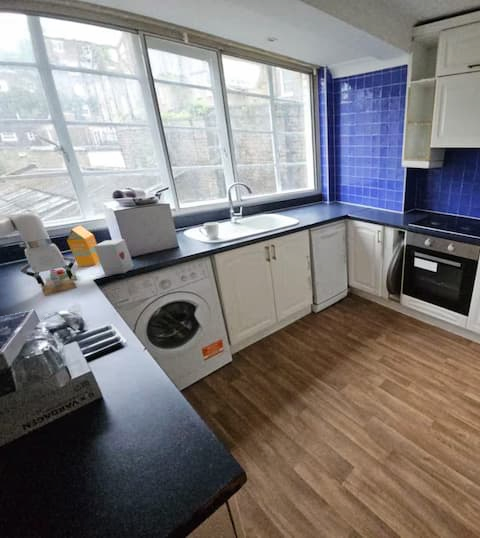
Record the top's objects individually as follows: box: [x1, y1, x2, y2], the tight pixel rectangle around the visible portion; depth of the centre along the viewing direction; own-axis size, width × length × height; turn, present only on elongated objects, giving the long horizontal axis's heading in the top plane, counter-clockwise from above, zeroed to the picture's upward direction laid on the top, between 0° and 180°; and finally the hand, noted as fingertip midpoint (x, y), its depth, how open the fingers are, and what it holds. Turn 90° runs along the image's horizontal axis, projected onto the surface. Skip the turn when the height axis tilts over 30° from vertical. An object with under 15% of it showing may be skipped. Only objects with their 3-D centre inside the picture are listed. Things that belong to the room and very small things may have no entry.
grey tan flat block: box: [49, 269, 60, 286], centre depth 127 cm, size 7×2×5 cm, turn 45°
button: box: [55, 269, 65, 275], centre depth 135 cm, size 3×3×2 cm
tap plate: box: [40, 277, 77, 296], centre depth 129 cm, size 11×11×3 cm
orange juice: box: [66, 224, 100, 268], centre depth 154 cm, size 8×9×20 cm
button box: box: [45, 270, 78, 283], centre depth 136 cm, size 10×7×4 cm
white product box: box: [94, 238, 135, 276], centre depth 144 cm, size 9×9×15 cm
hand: (57, 281), depth 128 cm, fingers open, 8 cm apart
